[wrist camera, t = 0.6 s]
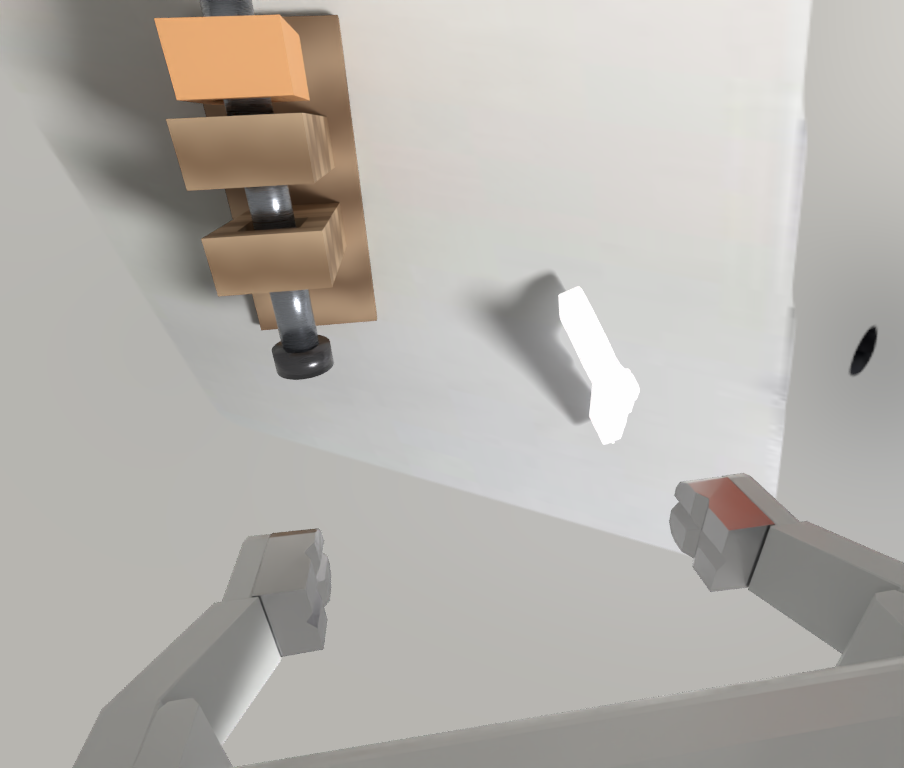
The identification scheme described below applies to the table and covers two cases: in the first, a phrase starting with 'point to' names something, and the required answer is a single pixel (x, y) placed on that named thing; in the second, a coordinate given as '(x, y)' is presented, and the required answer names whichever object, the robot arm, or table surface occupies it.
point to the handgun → (599, 366)
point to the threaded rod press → (310, 186)
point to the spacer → (233, 58)
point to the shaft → (273, 210)
